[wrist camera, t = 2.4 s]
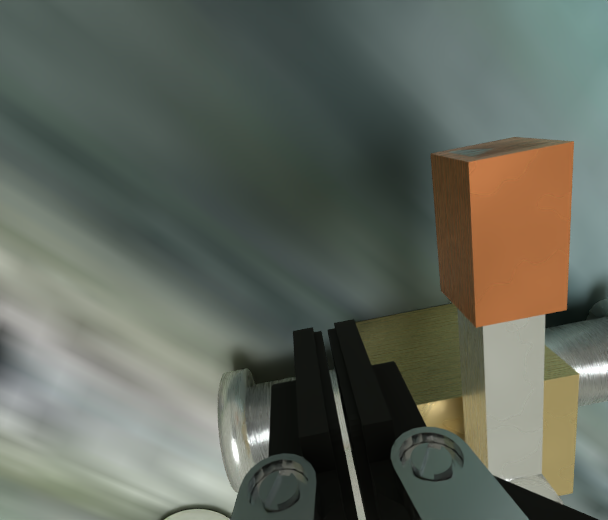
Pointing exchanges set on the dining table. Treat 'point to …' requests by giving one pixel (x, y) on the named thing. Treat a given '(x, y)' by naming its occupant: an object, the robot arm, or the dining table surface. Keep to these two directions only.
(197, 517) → the water bottle
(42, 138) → the dining table surface
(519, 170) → the valve lever
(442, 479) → the robot arm
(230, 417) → the valve pipe
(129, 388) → the dining table surface
